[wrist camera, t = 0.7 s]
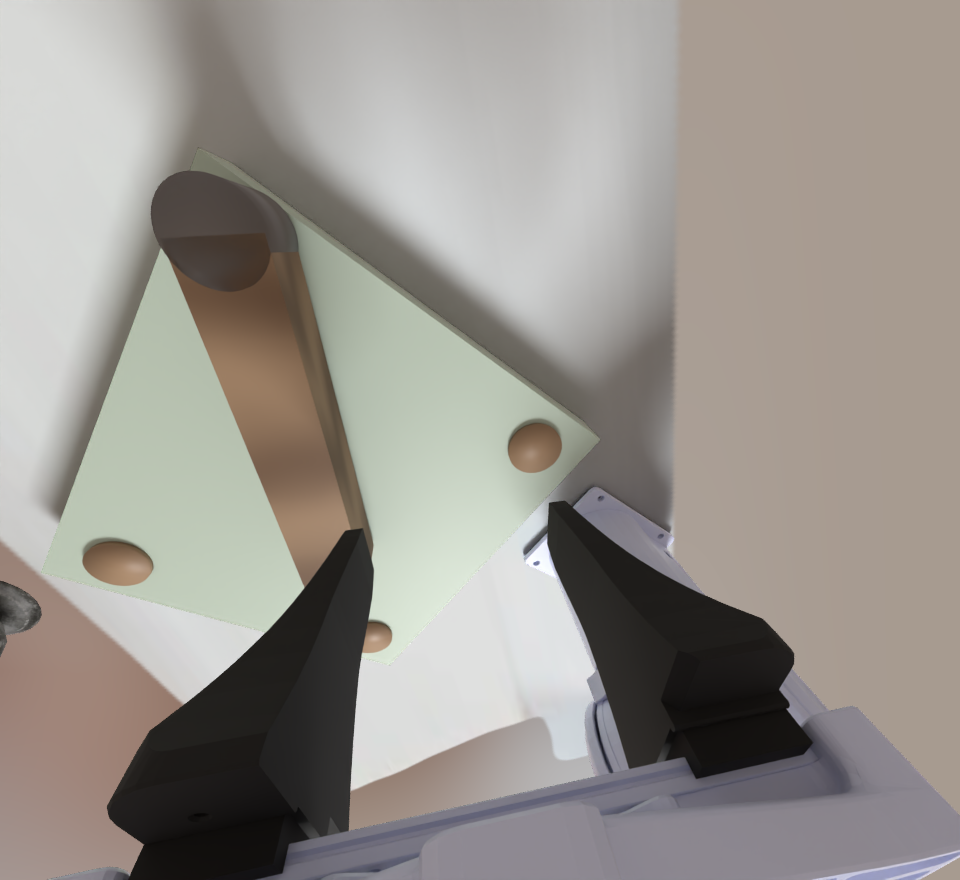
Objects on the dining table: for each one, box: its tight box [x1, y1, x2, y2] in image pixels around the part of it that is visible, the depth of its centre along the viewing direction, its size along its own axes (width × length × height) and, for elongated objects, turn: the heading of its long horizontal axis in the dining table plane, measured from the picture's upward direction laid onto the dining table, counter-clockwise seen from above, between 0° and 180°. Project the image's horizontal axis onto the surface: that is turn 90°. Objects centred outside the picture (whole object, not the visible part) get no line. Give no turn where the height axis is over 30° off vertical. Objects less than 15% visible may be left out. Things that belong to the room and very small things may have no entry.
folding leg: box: [151, 171, 374, 588], centre depth 16 cm, size 18×3×3 cm, turn 3°
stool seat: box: [41, 148, 601, 666], centre depth 21 cm, size 21×23×3 cm
